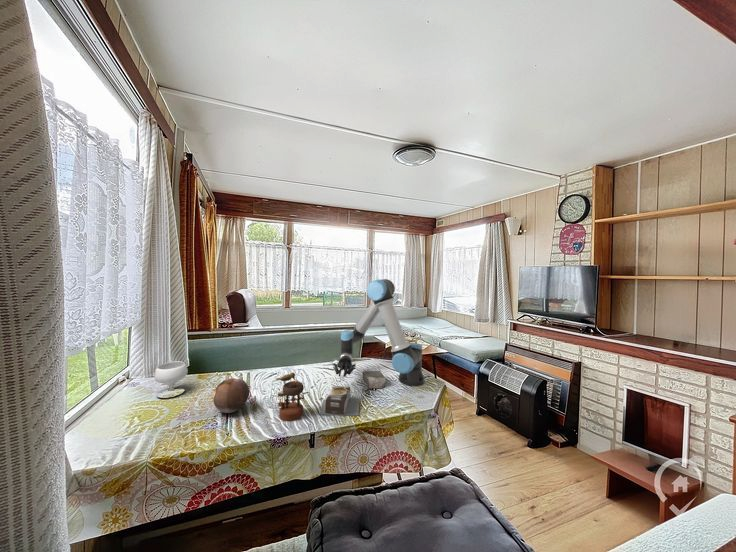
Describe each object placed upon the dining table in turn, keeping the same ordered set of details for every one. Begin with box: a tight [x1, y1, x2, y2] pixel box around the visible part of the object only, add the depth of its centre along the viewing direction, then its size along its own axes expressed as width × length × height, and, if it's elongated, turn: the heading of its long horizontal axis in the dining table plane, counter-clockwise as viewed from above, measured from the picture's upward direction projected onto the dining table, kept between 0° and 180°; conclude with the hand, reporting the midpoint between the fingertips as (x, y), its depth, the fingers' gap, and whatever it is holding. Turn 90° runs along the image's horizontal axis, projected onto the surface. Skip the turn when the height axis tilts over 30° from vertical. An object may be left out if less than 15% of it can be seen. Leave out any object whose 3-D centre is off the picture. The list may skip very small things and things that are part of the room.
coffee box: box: [325, 384, 351, 415], centre depth 134 cm, size 9×6×16 cm
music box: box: [275, 372, 310, 422], centre depth 126 cm, size 15×11×20 cm
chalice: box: [153, 360, 189, 391], centre depth 142 cm, size 14×14×15 cm
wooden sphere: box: [212, 377, 250, 414], centre depth 128 cm, size 15×15×15 cm
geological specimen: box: [362, 370, 387, 390], centre depth 163 cm, size 11×6×15 cm
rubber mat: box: [318, 399, 360, 417], centre depth 133 cm, size 18×14×1 cm
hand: (341, 377), depth 138 cm, fingers closed
